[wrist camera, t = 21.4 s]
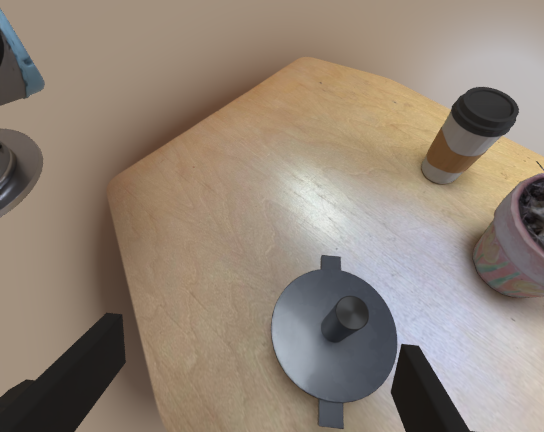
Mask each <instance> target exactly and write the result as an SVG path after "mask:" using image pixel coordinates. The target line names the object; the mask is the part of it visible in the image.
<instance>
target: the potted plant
mask: <svg viewBox="0 0 544 432" xmlns="http://www.w3.org/2000/svg"><path fill="white" fill-rule="evenodd" d="M535 161H536V160H535ZM536 162H537V161H536ZM537 163H538V162H537ZM538 164H539V163H538ZM539 165H540V164H539ZM540 167H541V168H542V166H541V165H540ZM542 169H543V168H542ZM543 170H544V169H543ZM473 261H474V264H475V267H476V270H477V273H478V274H479V276H480V277H481V278H482V279H483V280H484V281H485V282H486V283H487V284H488V285H489V286H490V287H491V288H493V289H494V290H496V291H498V292H499V293H501V294H504V295H508V296H511V297H515V298H524V297H544V173H541V174H537V175H535V176H533V177H530V178H528V179H526V180H524V181H522V182H520V183H519V184H518V185H517V186H516V187H515V188H514V189H513V190H512V191H511V192H510V193H509V194H508V195H507V196H506V197H505V198H504V199H503V200H502V202H501V203H500V204H499V206H498V207H497V209H496V210H495V213H494V219H493V221H492V222H491V224H490V225H489V227H488V228H487V230H486V231H485V233H484V234H483V235H482V237H481V238H480V240H479V241H478V243H477V244H476V246H475V247H474V252H473Z"/></svg>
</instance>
